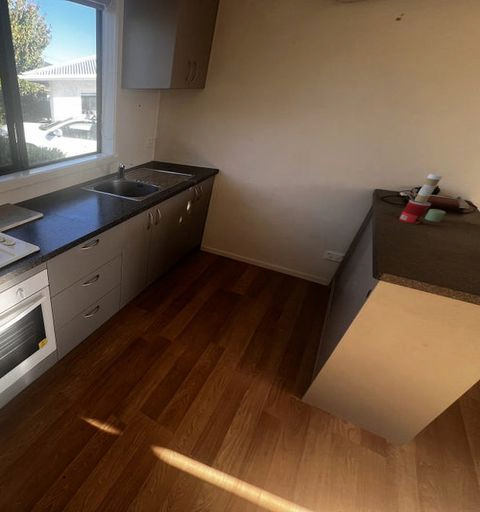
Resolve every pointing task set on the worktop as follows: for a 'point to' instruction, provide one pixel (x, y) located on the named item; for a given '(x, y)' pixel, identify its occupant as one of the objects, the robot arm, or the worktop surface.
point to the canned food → (414, 212)
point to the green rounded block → (435, 215)
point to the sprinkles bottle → (428, 187)
